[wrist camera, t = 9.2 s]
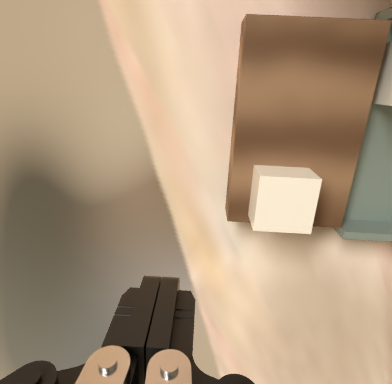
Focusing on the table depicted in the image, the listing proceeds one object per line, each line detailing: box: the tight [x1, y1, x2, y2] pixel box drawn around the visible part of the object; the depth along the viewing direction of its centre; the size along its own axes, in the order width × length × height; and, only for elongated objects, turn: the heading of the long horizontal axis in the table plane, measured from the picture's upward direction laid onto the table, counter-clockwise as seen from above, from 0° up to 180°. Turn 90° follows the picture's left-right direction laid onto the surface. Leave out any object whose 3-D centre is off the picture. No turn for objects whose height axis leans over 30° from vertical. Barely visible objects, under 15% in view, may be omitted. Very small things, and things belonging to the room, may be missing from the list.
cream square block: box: [248, 165, 322, 234], centre depth 23 cm, size 4×4×3 cm
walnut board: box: [226, 14, 392, 228], centre depth 25 cm, size 16×10×3 cm, turn 177°
